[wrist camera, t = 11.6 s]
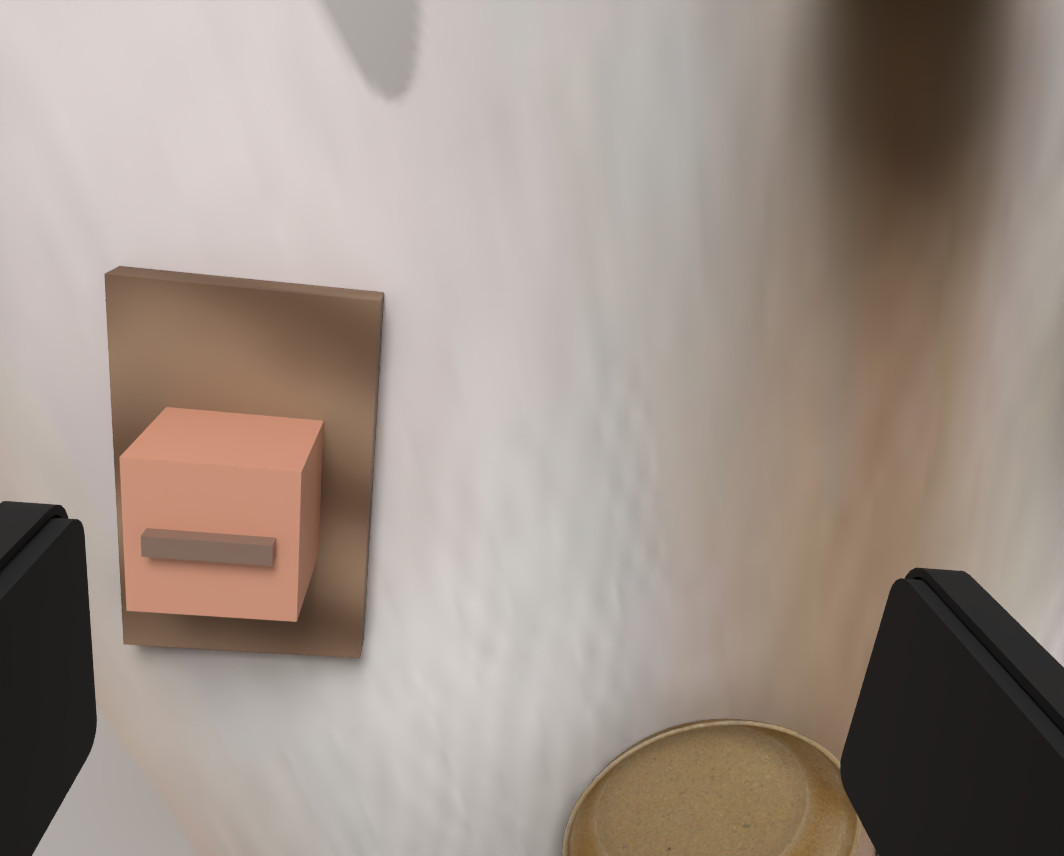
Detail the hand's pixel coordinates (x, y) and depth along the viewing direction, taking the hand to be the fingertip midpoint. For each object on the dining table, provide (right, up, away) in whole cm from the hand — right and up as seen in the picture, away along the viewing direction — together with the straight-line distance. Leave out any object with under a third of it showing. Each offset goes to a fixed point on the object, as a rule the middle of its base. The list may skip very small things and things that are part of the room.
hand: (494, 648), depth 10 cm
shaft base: (-11, +1, +27) cm, 29 cm away
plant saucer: (+9, -17, +36) cm, 41 cm away
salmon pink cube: (-11, 0, +26) cm, 28 cm away
